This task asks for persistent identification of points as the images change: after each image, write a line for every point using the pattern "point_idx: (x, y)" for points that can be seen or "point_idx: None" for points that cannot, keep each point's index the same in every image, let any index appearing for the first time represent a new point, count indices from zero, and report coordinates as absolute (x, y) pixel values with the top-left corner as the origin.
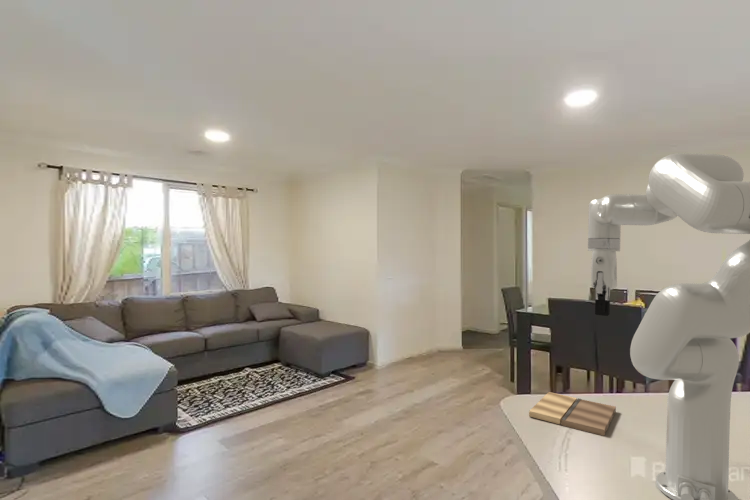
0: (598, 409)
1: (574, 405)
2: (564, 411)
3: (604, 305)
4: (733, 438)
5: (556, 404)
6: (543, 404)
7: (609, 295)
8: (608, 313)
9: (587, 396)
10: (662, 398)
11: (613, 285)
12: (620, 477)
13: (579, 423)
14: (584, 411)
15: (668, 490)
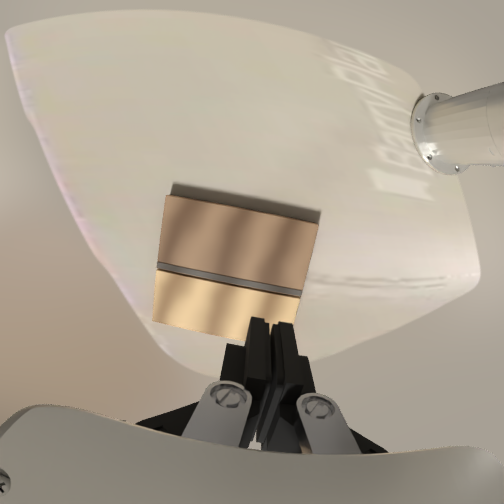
0: (203, 229)
1: (207, 275)
2: (254, 293)
3: (311, 384)
4: (209, 23)
5: (221, 307)
6: (235, 329)
7: (205, 406)
8: (293, 329)
9: (103, 245)
10: (52, 115)
11: (446, 474)
12: (440, 214)
13: (306, 266)
14: (232, 256)
15: (464, 168)
